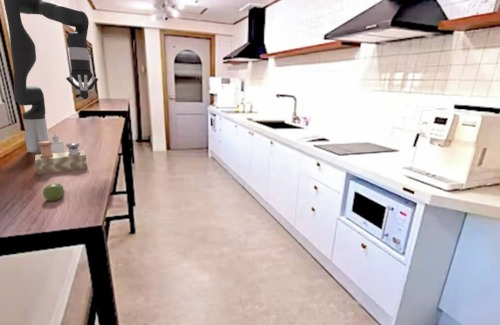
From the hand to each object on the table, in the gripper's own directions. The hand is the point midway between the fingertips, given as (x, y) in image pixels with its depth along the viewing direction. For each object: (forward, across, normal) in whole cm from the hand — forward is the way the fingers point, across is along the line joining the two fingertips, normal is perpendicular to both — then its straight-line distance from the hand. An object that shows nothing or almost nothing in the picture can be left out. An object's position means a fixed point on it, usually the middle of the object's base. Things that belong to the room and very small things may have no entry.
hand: (84, 99), depth 131 cm
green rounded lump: (+29, +16, +43) cm, 54 cm away
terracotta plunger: (+27, +17, +9) cm, 33 cm away
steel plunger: (+29, +8, +9) cm, 31 cm away
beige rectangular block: (+29, +12, +9) cm, 33 cm away
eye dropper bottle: (+29, +14, -12) cm, 34 cm away
